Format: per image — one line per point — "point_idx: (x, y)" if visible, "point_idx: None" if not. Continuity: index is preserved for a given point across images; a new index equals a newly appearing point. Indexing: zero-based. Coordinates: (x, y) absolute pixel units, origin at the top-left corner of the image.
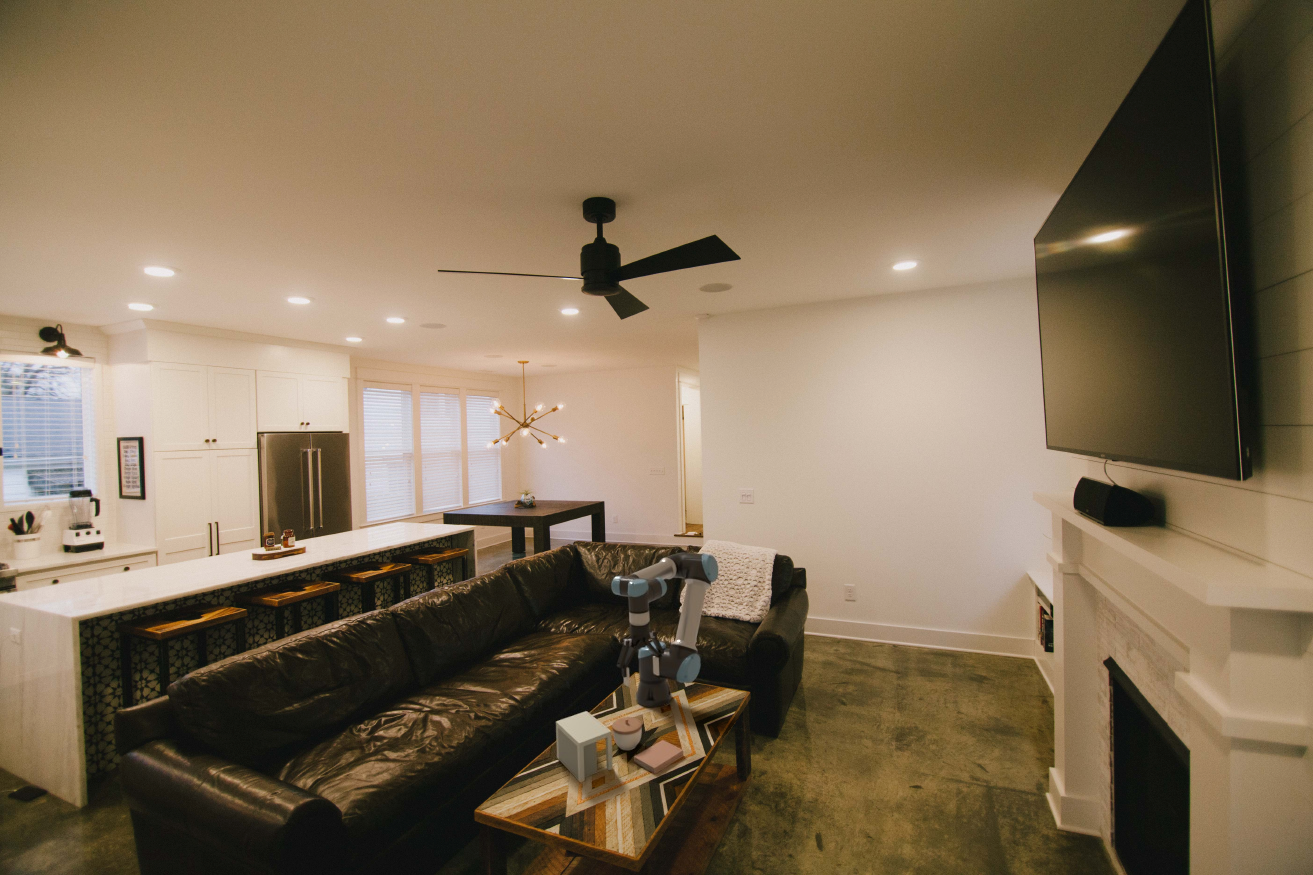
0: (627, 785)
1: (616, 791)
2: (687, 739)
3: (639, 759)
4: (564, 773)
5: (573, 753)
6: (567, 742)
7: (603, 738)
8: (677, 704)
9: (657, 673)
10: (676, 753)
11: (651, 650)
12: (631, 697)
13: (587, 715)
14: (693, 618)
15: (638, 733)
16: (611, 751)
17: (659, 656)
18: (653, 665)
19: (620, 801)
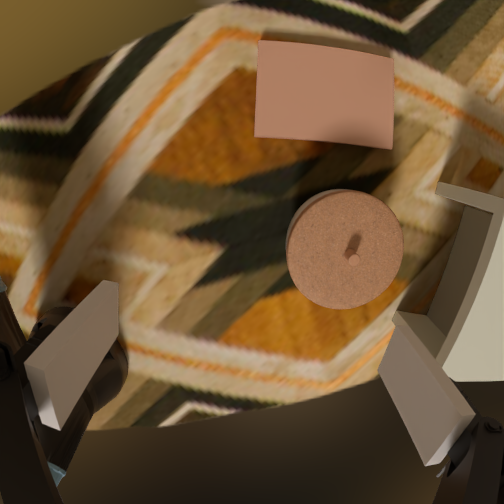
0: (459, 100)
1: (484, 111)
2: (171, 98)
3: (392, 124)
4: None
5: None
6: None
7: None
8: (47, 280)
9: (112, 292)
10: (289, 45)
11: (57, 493)
12: (122, 402)
13: (457, 354)
14: None
15: (340, 190)
16: (467, 189)
17: (7, 362)
18: (94, 368)
19: (496, 83)
